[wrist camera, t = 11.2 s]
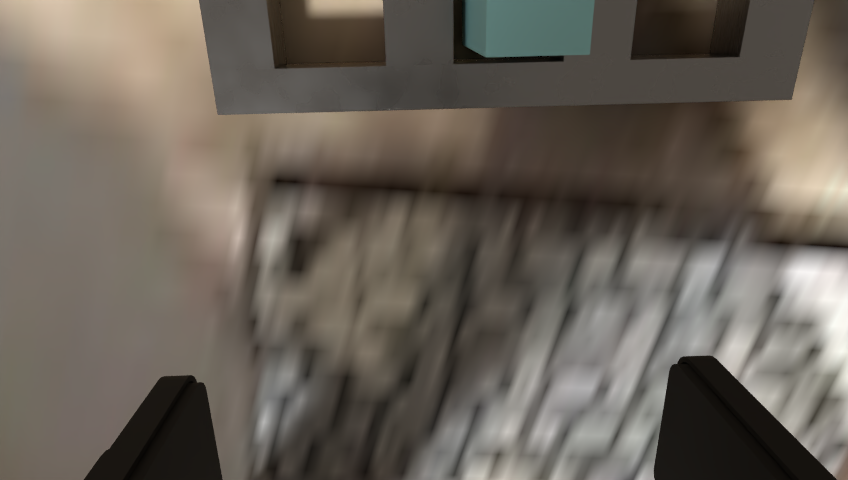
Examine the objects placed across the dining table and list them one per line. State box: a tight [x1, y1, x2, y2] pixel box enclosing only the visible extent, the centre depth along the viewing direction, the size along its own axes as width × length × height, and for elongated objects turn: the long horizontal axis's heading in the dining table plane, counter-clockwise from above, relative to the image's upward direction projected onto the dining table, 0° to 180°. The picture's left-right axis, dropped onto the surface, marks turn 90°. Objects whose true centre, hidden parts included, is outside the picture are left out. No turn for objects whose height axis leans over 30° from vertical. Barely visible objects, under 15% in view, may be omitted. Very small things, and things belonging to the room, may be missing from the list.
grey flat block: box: [199, 0, 814, 115], centre depth 28 cm, size 10×30×3 cm, turn 91°
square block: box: [462, 0, 595, 57], centre depth 25 cm, size 4×4×10 cm
